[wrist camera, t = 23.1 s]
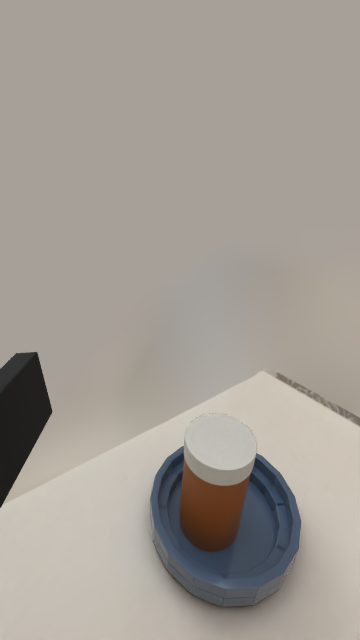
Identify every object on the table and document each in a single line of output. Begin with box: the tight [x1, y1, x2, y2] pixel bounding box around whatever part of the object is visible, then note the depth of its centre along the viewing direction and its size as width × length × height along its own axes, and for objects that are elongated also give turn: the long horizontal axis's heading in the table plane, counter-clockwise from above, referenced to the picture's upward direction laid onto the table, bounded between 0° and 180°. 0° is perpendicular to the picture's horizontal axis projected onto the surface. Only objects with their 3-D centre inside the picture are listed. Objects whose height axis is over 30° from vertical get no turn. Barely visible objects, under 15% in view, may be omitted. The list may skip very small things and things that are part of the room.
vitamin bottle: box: [179, 413, 257, 552], centre depth 27 cm, size 6×6×11 cm
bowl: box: [150, 446, 301, 607], centre depth 29 cm, size 14×15×4 cm
